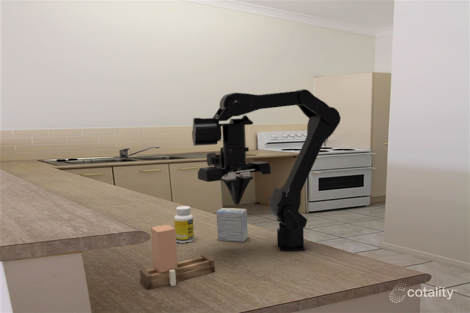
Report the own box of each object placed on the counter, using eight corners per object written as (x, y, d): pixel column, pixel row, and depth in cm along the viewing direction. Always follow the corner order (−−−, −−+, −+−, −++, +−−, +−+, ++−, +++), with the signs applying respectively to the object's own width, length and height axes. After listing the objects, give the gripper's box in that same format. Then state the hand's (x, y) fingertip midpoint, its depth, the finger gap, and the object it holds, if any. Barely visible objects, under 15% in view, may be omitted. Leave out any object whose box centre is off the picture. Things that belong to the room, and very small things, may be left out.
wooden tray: (204, 264, 99) (204, 253, 99) (215, 272, 94) (214, 260, 94) (140, 281, 91) (139, 269, 91) (148, 289, 86) (147, 277, 86)
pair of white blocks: (162, 273, 95) (161, 259, 95) (176, 285, 88) (175, 270, 88) (158, 274, 94) (157, 260, 94) (171, 286, 88) (170, 271, 87)
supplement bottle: (190, 243, 115) (189, 209, 114) (172, 243, 116) (170, 209, 115) (196, 237, 121) (194, 205, 120) (179, 237, 122) (177, 205, 121)
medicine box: (248, 237, 119) (247, 208, 118) (243, 242, 115) (242, 212, 114) (222, 236, 121) (221, 207, 120) (217, 240, 117) (216, 211, 116)
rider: (170, 266, 94) (167, 224, 93) (177, 272, 90) (175, 228, 89) (153, 270, 92) (150, 227, 91) (160, 277, 88) (157, 232, 87)
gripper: (248, 139, 114) (250, 194, 116) (187, 144, 105) (190, 204, 107) (271, 141, 105) (273, 201, 107) (206, 147, 95) (209, 212, 97)
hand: (236, 204), depth 105 cm, fingers closed
